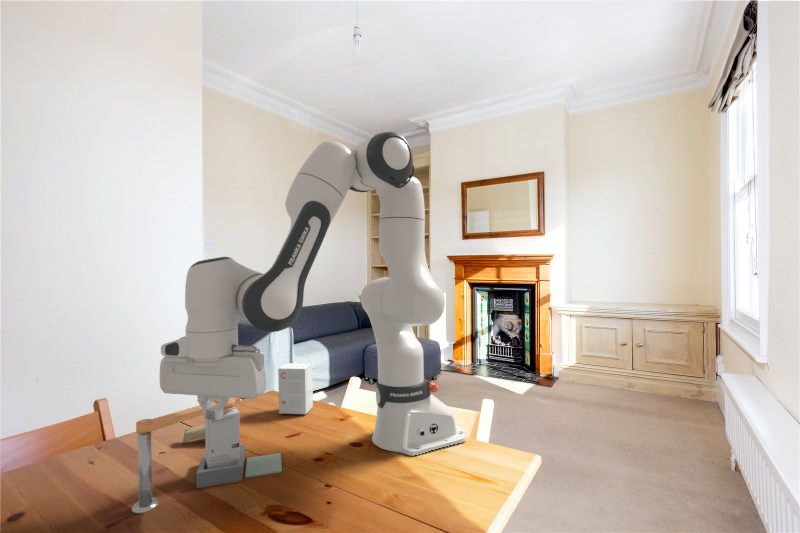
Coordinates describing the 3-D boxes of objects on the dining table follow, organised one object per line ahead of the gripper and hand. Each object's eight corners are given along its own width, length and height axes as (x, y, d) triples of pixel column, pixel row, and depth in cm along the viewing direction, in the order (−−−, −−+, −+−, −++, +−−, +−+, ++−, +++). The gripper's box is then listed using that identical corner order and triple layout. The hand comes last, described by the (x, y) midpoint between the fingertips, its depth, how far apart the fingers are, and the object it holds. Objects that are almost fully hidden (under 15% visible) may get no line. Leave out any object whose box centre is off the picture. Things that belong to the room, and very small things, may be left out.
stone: (233, 430, 102) (233, 411, 101) (235, 440, 96) (235, 420, 96) (183, 438, 96) (183, 419, 96) (182, 450, 91) (182, 429, 91)
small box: (313, 406, 119) (312, 363, 119) (305, 414, 112) (305, 368, 112) (287, 406, 120) (286, 362, 120) (278, 414, 113) (277, 368, 113)
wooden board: (231, 400, 85) (231, 392, 85) (242, 404, 83) (242, 396, 83) (131, 430, 70) (131, 421, 70) (141, 435, 68) (141, 426, 68)
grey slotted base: (244, 458, 87) (244, 444, 87) (241, 481, 78) (241, 466, 78) (204, 464, 85) (204, 450, 85) (196, 489, 75) (196, 473, 75)
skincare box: (207, 481, 78) (207, 419, 78) (204, 471, 82) (203, 412, 82) (241, 471, 81) (240, 412, 81) (236, 462, 85) (235, 405, 85)
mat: (280, 454, 89) (280, 452, 89) (281, 472, 81) (281, 470, 81) (247, 459, 87) (247, 457, 87) (245, 478, 79) (245, 476, 79)
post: (161, 499, 72) (160, 426, 72) (155, 512, 69) (154, 435, 68) (135, 503, 71) (134, 429, 71) (128, 516, 67) (127, 438, 67)
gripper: (272, 342, 75) (273, 415, 75) (178, 339, 79) (179, 409, 80) (253, 349, 69) (254, 429, 69) (152, 346, 73) (153, 421, 73)
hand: (213, 418), depth 74 cm, fingers closed
